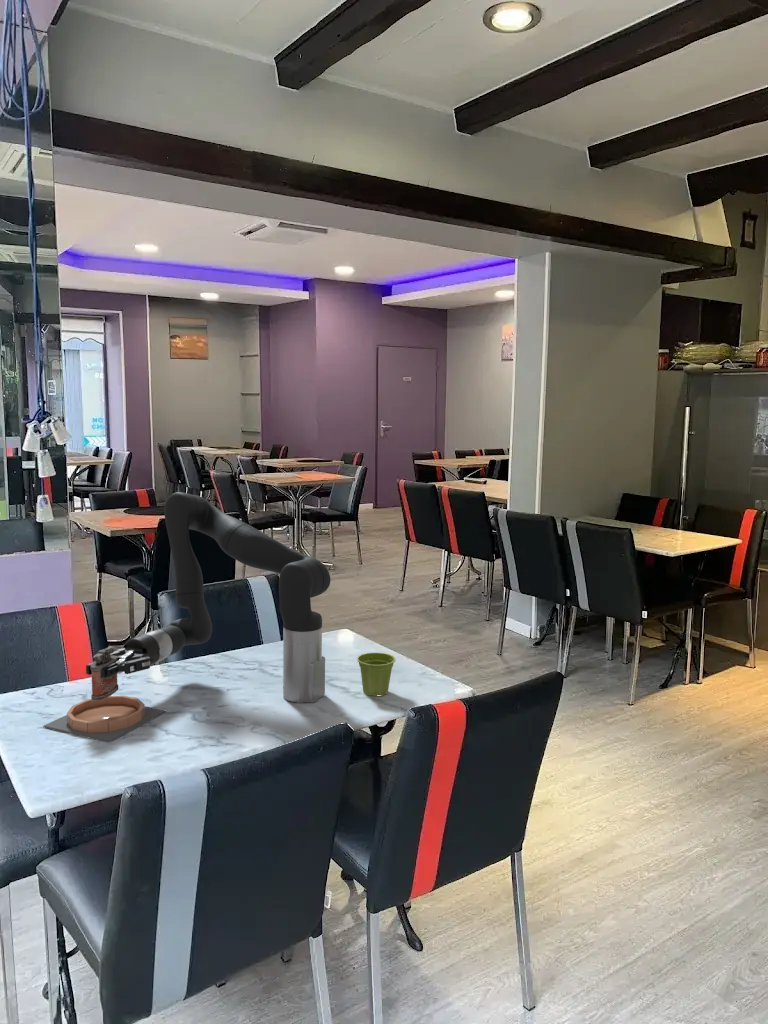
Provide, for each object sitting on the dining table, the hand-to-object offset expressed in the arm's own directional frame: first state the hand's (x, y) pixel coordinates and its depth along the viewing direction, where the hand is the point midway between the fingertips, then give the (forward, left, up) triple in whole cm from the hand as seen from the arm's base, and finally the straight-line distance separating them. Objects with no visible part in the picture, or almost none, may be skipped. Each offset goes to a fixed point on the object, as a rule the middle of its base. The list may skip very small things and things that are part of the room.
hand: (95, 671), depth 165 cm
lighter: (0, -3, -6) cm, 7 cm away
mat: (0, -3, -12) cm, 12 cm away
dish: (0, -3, -12) cm, 12 cm away
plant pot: (-47, -44, -12) cm, 65 cm away
